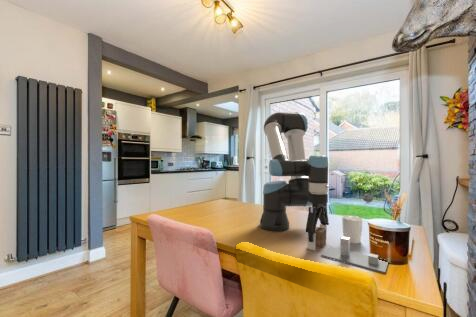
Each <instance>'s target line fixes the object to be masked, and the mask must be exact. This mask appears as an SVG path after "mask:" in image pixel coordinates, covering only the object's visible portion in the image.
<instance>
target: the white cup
mask: <svg viewBox="0 0 476 317" xmlns="http://www.w3.org/2000/svg"><path fill="white" fill-rule="evenodd" d="M341 220H342V234H343V235H342V236H344V237H349V238H350V244H359V243H361V240H362V239H361V238H362V231H363V230H362V229H363V217H360V216H356V215H351V214H350V215H343V216H341Z"/></svg>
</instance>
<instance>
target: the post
mask: <svg viewBox="0 0 476 317" xmlns="http://www.w3.org/2000/svg"><path fill="white" fill-rule="evenodd" d="M340 249H341V253H340V256H344V257H349V256H350V251H351V243H350V238H349V237H344V236H343V235H342V236H341V237H340Z"/></svg>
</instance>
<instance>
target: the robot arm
mask: <svg viewBox="0 0 476 317" xmlns="http://www.w3.org/2000/svg"><path fill="white" fill-rule="evenodd" d="M308 124H309V122H308V118H307V116H306V114H305V113H304V112H275V113H272V114H271V115H269V116H268V117H267V119H265V122H264V124H263V132H264V134H265V136H266V138H267V142H268V148H269V152H270V155H271V159H270V160H269V163H268V172H269V173H268V174H269V175H271V177H290V178H289V180H288V183H287V181H286V180H274V181H269V182H265V183H264V184H263V190H262V193H263V194H262V196H263V199H262V200H263V201H262V202H263V204H262V205H263V206H262V209H263V211H262V213H261V217H260V220H259V227H260V228H261V229H263V230H266V231H271V232H281V231H282V232H283V231H288V230H289V229H290V220H289V217H288V214H287V207H308V214H307V221H306V225H305V226H306V227H305V231H304V233H306V234H307V249H308V250H311V251H316V247H315V235H316V233H315V229H316V227H317V224H318V220H319V223H320V224H319V227H320V228H325V229H326V233H327V226H329V225H330V223H329V215H328V209H327V204H328V201H329V198H328V197H329V195H328V192H329V188H330V185H329V184H328V180H329V179H328V178H329V160H328V156H327V155H310V156H309V157H308V158H307V159H306V153H305V145H304V136H305V135H306V132H307V130H308V129H309V128H308ZM282 133H283V134H282ZM282 135H284V136H282ZM283 137H284V138H286V140H287V141H286V142H287V148H288V149H287V150H286V146H285V143H284V139H283ZM287 151H288V152H287Z"/></svg>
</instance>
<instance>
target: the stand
mask: <svg viewBox="0 0 476 317" xmlns="http://www.w3.org/2000/svg"><path fill="white" fill-rule="evenodd" d="M340 253H341V248H337V247H334V246H329V247H328V248H326V250H324V251H323V253H321V254H320V257H322V256H324V257H323V258H325V257H328V258H327V259H329V258H331V259H330V260H333V259H335V260H334V261H336V260H339V261H338V262H340V261H342V262H341V263H344V262H345V263H344V264H347V263H349V264H348V265H351V264H352V266H355V267H358V268H363V269H365V270H369V271H373V272H377V273H380V274H384V275H386V273H387V270H388V266H389V264H388V262H385V261H382V260H379V259H378V258H379V254H375V253H369V254H363V253H359V252H355V251H351V250H350V256H349V257H344V256H340Z"/></svg>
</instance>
